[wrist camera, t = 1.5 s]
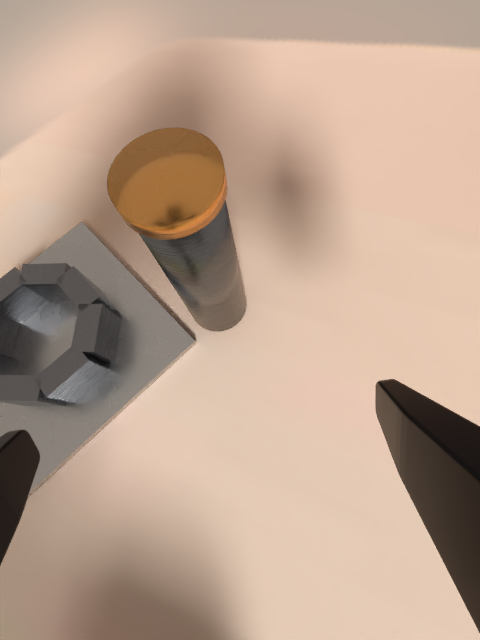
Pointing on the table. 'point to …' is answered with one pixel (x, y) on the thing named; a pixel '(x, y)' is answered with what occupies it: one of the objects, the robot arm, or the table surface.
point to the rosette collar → (77, 346)
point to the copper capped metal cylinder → (183, 219)
